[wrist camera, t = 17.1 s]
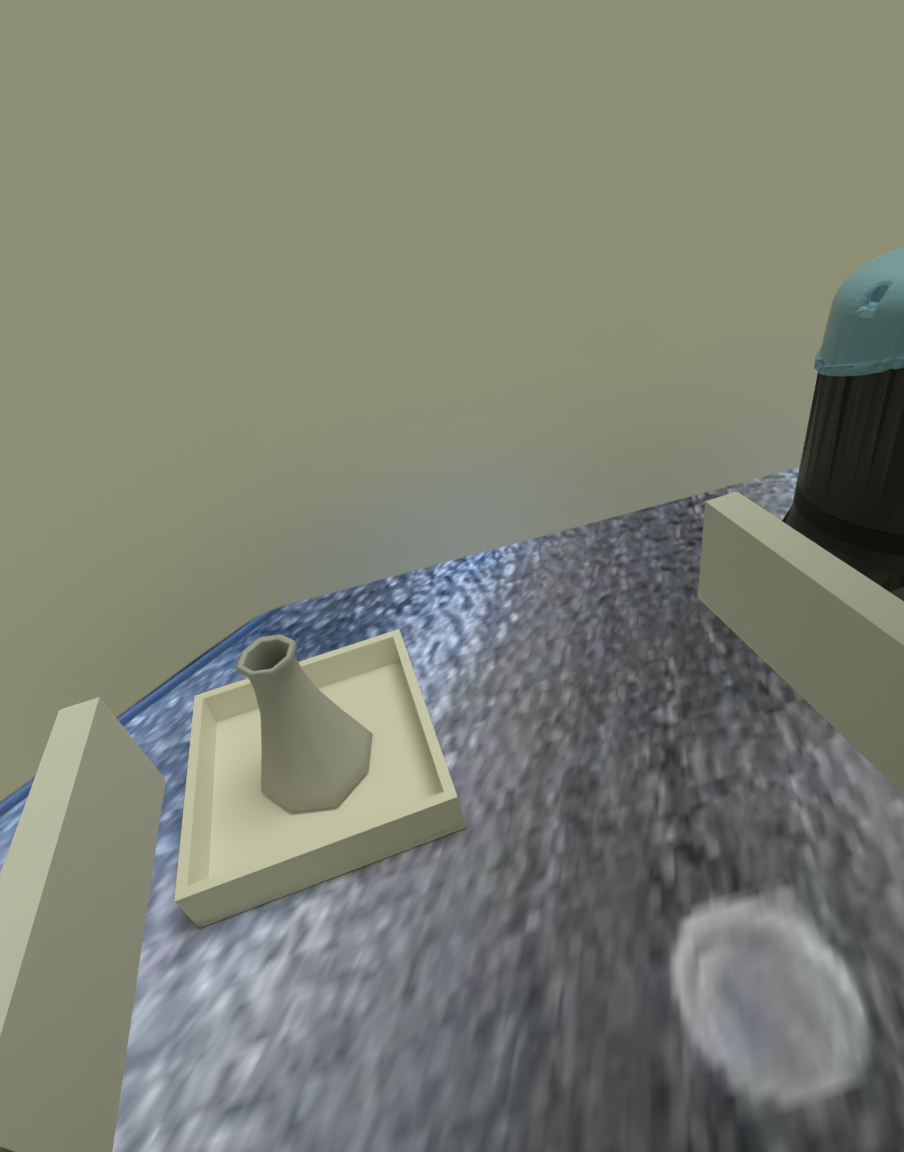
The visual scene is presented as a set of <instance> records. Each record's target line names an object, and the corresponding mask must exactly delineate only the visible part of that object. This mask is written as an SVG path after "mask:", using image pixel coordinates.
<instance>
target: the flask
mask: <svg viewBox="0 0 904 1152" xmlns="http://www.w3.org/2000/svg"><path fill="white" fill-rule="evenodd" d="M296 648H297V645H296V642H295V641H294V640H292V639H290V638H287V637H285V636H283V635H281V634H280V635H273V636H266V637H260V638H258V639H257V640H256V641H254V642H253V643H252V644H251V645H249V646H248V647H247V648H246V649H245V650H243V651H242V653H241V656H240V658H239V661H238V663H237V666H236V669H237V671H238V672H240V673H241V674H243V675H245V676H247V677H248V678H249V680H250V682H251V684H252V686H253V688H254V690H255V694H256V698H257V702H258V706H259V710H260V717H261V746H262V758H261V791H262V792H263V793H264V794H266V795H267V796H269V797H270V798H272V799H273V800H275V801H276V802H277V803H279V804H280V805H282V806H283V807H285V808H286V809H287V810H289V811H290V812H295V811H303V810H311V809H319V808H328V807H336V806H338V805H339V804H340V802H341V801H342V800H343V799H344V798H345V797H346V796H347V794H348V793H349V792H350V791H351V790H352V789H353V788H354V786H355V785H356V784H357V783H358V782H359V781H360V780H361V778H362V777H363V776H364V775H365V774H366V773H367V772H368V770H369V762H370V753H371V744H372V735H373V734H372V733H371V732H370V731H369V730H367V729H366V728H365V727H364V726H363V725H361V724H360V723H359V722H357V721H356V720H355V719H354V718H352V717H351V716H350V715H348V714H347V713H346V712H345V711H343V710H342V709H341V708H340V707H338V706H337V705H336V704H335V703H334V702H333V701H331V700H330V699H329V698H328V697H327V696H326V695H324V694H323V693H322V692H321V691H320V690H319V689H317V688H316V687H315V685H314V684H313V683H312V681H311V680H310V679H309V678H308V676H307V675H306V674H305V673H304V671H303V670H302V669H301V667H300V664H299V662H298V660H297V658H296V656H295V652H296Z"/></svg>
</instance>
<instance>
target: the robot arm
mask: <svg viewBox="0 0 904 1152" xmlns="http://www.w3.org/2000/svg"><path fill="white" fill-rule="evenodd" d="M814 368H815V369H816V370H817V371H818V375H817V380H816V386H815V391H814V396H813V401H812V406H811V412H810V417H809V422H808V427H807V432H806V437H805V442H804V448H803V453H802V458H801V463H800V468H799V473H798V478H797V485H796V490H795V495H794V500H793V504H792V506H791V507H790V509H789V511H788V512H787V514H786V515H785V517H784V519H783V520H782V521H781V520H779V519H778V518H776V517H775V516H773V515H772V514H770V513H769V512H767V511H766V510H764V509H763V508H761V507H760V506H758V505H756V504H755V503H753V502H752V501H750V500H749V499H747V498H746V497H744V496H743V495H741V494H740V493H738V492H734V493H731V494H727V495H724V496H721V497H718V498H715V499H712V500H709V501H706V502H705V514H704V527H703V540H702V552H701V565H700V578H699V590H698V598H699V599H700V600H701V601H702V602H703V603H704V604H705V605H706V606H707V607H708V608H709V609H710V610H711V611H712V612H713V613H714V614H715V615H717V616H718V617H719V618H720V619H721V620H722V621H723V622H724V623H725V624H726V625H727V626H728V627H729V628H730V629H731V630H732V631H733V632H734V633H735V634H736V635H737V636H739V637H740V638H741V639H742V640H743V641H744V642H745V643H746V644H747V645H748V646H749V647H750V648H751V649H752V650H753V651H754V652H755V653H756V654H757V655H758V656H759V657H761V658H762V659H763V660H764V661H765V662H766V663H767V664H768V665H769V666H770V667H771V668H772V669H773V670H774V671H775V672H776V673H777V674H778V675H779V676H780V677H781V678H783V679H784V680H785V681H786V682H787V683H788V684H789V685H790V686H791V687H792V688H793V689H794V690H795V691H796V692H797V693H798V694H799V695H800V696H801V697H802V698H803V699H805V700H806V701H807V702H808V703H809V704H810V705H811V706H812V707H813V708H814V709H815V710H816V711H817V712H818V713H819V714H820V715H821V716H822V717H823V718H824V719H825V720H827V721H828V722H829V723H830V724H831V725H832V726H833V727H834V728H835V729H836V730H837V731H838V732H839V733H840V734H841V735H842V736H843V737H844V738H845V739H846V740H847V741H849V742H850V743H851V744H852V745H853V746H854V747H855V748H856V749H857V750H858V751H859V752H860V753H861V754H862V755H863V756H864V757H865V758H866V759H867V760H868V761H869V762H871V763H872V764H873V765H874V766H875V767H876V768H877V769H878V770H879V771H880V772H881V773H882V774H883V775H884V776H885V777H886V778H887V779H888V780H889V781H890V782H891V783H893V784H894V785H895V786H896V787H897V788H898V789H899V790H900V791H901V792H902V793H903V794H904V247H901V248H899V249H896V250H893V251H891V252H888V253H886V254H884V255H882V256H880V257H877V258H875V259H873V260H872V261H870V262H868V263H866V264H865V265H863V266H862V267H860V268H859V269H857V270H856V271H855V272H854V273H853V274H851V275H850V276H849V277H848V278H847V279H846V281H844V283H843V284H842V285H841V286H840V288H839V290H838V292H837V293H836V295H835V297H834V300H833V303H832V306H831V310H830V314H829V318H828V322H827V326H826V331H825V335H824V339H823V343H822V347H821V348H820V350H819V351H818V353H817V355H816V357H815V366H814ZM164 787H165V779H164V777H163V776H162V775H161V774H160V772H159V771H158V770H157V769H156V767H155V766H154V765H153V764H152V762H151V761H150V760H149V759H148V757H147V756H146V755H145V754H144V752H143V751H142V750H141V749H140V747H139V746H138V745H137V744H136V742H135V741H134V740H133V739H132V737H131V736H130V735H129V734H128V732H127V731H126V730H125V729H124V727H123V726H122V725H121V724H120V722H119V721H118V720H117V719H116V717H115V716H114V715H113V714H112V712H111V711H110V710H109V709H108V707H107V706H106V705H105V704H104V702H103V701H102V700H101V699H100V697H98V698H95V699H92V700H89V701H86V702H83V703H80V704H77V705H73V706H70V707H67V708H64V709H61V710H59V712H58V715H57V718H56V721H55V724H54V726H53V729H52V732H51V735H50V737H49V740H48V743H47V746H46V749H45V752H44V754H43V757H42V760H41V763H40V765H39V768H38V771H37V774H36V776H35V779H34V782H33V785H32V787H31V790H30V793H29V796H28V799H27V801H26V804H25V807H24V810H23V812H22V815H21V818H20V821H19V824H18V826H17V829H16V832H15V835H14V837H13V840H12V843H11V846H10V849H9V851H8V854H7V857H6V860H5V862H4V865H3V868H2V871H1V874H0V1152H112V1149H113V1142H114V1135H115V1128H116V1121H117V1114H118V1107H119V1100H120V1093H121V1086H122V1079H123V1072H124V1065H125V1058H126V1051H127V1044H128V1037H129V1030H130V1023H131V1016H132V1009H133V1003H134V996H135V989H136V982H137V975H138V968H139V961H140V954H141V947H142V940H143V933H144V926H145V919H146V912H147V905H148V898H149V891H150V884H151V877H152V870H153V863H154V856H155V849H156V842H157V835H158V828H159V821H160V815H161V808H162V801H163V794H164Z"/></svg>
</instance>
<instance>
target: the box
mask: <svg viewBox="0 0 904 1152" xmlns="http://www.w3.org/2000/svg"><path fill="white" fill-rule="evenodd" d="M299 664H300V667H301V669H302V670H303V671H304V673H305V674H306V675H307V676H308V678H309V679H310V680H311V681H312V683H313V684H314V685H315V687H316V688H317V689H319V690H320V691H321V692H322V693H323V694H324V695H326V696H327V697H328V698H329V699H330V700H331V701H333V702H334V703H335V704H336V705H337V706H338V707H340V708H341V709H342V710H343V711H345V712H346V713H347V714H348V715H350V716H351V717H352V718H354V719H355V720H356V721H357V722H359V723H360V724H361V725H363V726H364V727H365V728H366V729H367V730H369V731H370V732H371V733H372V734H373V735H372V744H371V753H370V762H369V770H368V772H367V773H366V774H365V775H364V776H363V777H362V778H361V780H360V781H359V782H358V783H357V784H356V785H355V786H354V788H353V789H352V790H351V791H350V792H349V793H348V794H347V796H346V797H345V798H344V799H343V800H342V801H341V802H340V804H339V805H338V806H336V807H328V808H319V809H311V810H303V811H295V812H290V811H289V810H287V809H286V808H285V807H283V806H282V805H280V804H279V803H277V802H276V801H275V800H273V799H272V798H270V797H269V796H267V795H266V794H264V793H263V792H262V791H261V758H262V746H261V717H260V710H259V706H258V702H257V698H256V694H255V690H254V688H253V686H252V684H251V682H250V680H249V678H248V679H245V680H242V681H239V682H236V683H233V684H230V685H226V686H223V687H220V688H217V689H214V690H211V691H208V692H205V693H202V694H199V695H196V696H195V699H194V709H193V719H192V729H191V740H190V750H189V760H188V770H187V780H186V790H185V800H184V810H183V820H182V831H181V841H180V851H179V861H178V871H177V881H176V891H175V901H174V902H175V903H176V904H177V905H178V906H179V907H180V908H181V909H182V910H183V911H184V912H185V913H186V915H187V916H188V917H189V918H190V919H191V920H192V921H193V922H194V923H195V924H196V925H197V927H198V928H202V927H204V926H207V925H210V924H212V923H215V922H218V921H220V920H223V919H225V918H228V917H231V916H233V915H236V914H239V913H241V912H244V911H247V910H249V909H252V908H255V907H257V906H260V905H263V904H265V903H268V902H270V901H273V900H276V899H278V898H281V897H284V896H286V895H289V894H292V893H294V892H297V891H300V890H302V889H305V888H308V887H310V886H313V885H316V884H318V883H321V882H323V881H326V880H329V879H331V878H334V877H337V876H339V875H342V874H345V873H347V872H350V871H353V870H355V869H358V868H361V867H363V866H366V865H368V864H371V863H374V862H376V861H379V860H382V859H384V858H387V857H390V856H392V855H395V854H398V853H400V852H403V851H406V850H408V849H411V848H413V847H416V846H419V845H421V844H424V843H427V842H429V841H432V840H435V839H437V838H440V837H443V836H445V835H448V834H451V833H453V832H456V831H458V830H461V829H464V828H466V825H465V822H464V818H463V815H462V811H461V808H460V804H459V801H458V797H457V794H456V791H455V789H454V786H453V783H452V780H451V777H450V774H449V771H448V768H447V765H446V763H445V760H444V757H443V754H442V751H441V748H440V745H439V742H438V740H437V737H436V734H435V731H434V728H433V725H432V722H431V719H430V717H429V714H428V711H427V708H426V705H425V702H424V699H423V696H422V694H421V691H420V688H419V685H418V682H417V679H416V676H415V673H414V671H413V668H412V665H411V662H410V659H409V656H408V653H407V650H406V648H405V645H404V642H403V639H402V636H401V633H400V630H399V629H398V630H395V631H392V632H389V633H386V634H383V635H380V636H377V637H374V638H371V639H367V640H364V641H361V642H358V643H355V644H352V645H349V646H346V647H343V648H340V649H337V650H334V651H331V652H328V653H325V654H322V655H318V656H315V657H312V658H309V659H306V660H303V661H300V662H299Z"/></svg>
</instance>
